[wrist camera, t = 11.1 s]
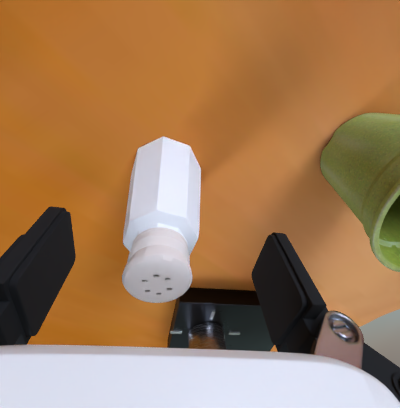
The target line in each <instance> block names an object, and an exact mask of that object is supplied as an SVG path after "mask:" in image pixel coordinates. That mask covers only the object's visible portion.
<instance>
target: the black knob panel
mask: <svg viewBox="0 0 400 408" xmlns="http://www.w3.org/2000/svg"><path fill="white" fill-rule="evenodd" d="M206 322H212V323H217V324H219V325H221V326H222V327H223V329H224V333H225V339H226V345H227V350H244V351H269V352H270V350H271V349H272V347H273V346H274V344H273V343H272V341H271V338H270V335H269V332H268V328H267V325H266V322H265V319H264V315H263V312H262V309H261V306H260V302H259V299H258V296H257V293H256V291H242V290H223V289H204V288H189V289H188V290H187V291H186V292H185V293H184V294H183V295H182V296H180V297H178V298H177V300H176V304H175V309H174V313H173V318H172V322H171V327H170V332H169V336H168V348H188V331H189V330H190V329H191V328H192V327H193V326H195V325H197V324H200V323H206Z"/></svg>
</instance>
